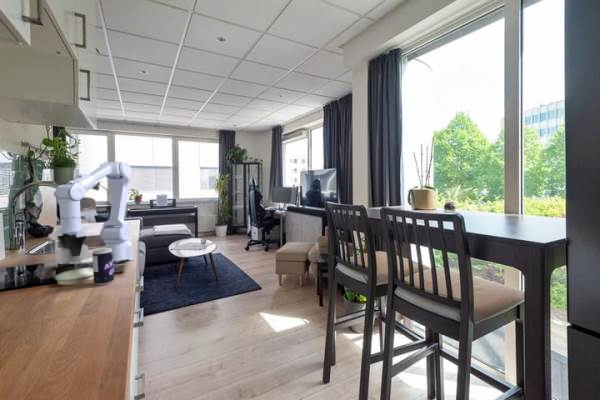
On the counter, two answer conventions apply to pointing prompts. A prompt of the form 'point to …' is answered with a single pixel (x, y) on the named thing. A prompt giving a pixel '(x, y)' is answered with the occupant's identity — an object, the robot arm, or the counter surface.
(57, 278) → the stand
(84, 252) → the housing
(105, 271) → the beverage can
